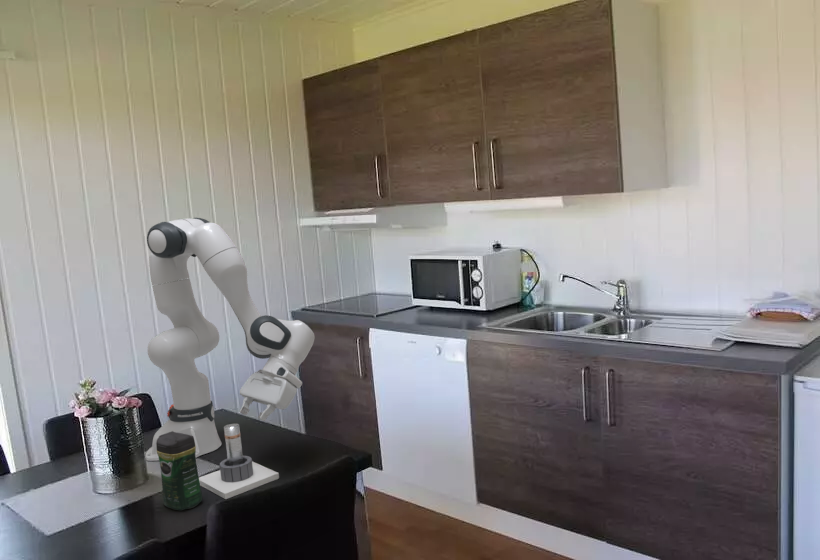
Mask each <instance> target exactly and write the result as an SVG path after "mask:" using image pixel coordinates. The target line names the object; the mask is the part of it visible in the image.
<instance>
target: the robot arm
mask: <svg viewBox="0 0 820 560" xmlns="http://www.w3.org/2000/svg"><path fill="white" fill-rule="evenodd" d="M146 243H147V247H148V250H149V251H150V254H149V258H148V259H149V261H148V262H149V263H148V264H149V265H148V266H149V276H150V281H151V286H152V292H153V296H154V299H155V304H156V308H157V311H159V313H160V314H162V315H165V316H166V317H168V319H169V320H170V322H171V323H172V325H173V328H171V329H167V330H163V331H162V332H160V333H158V334H157V335H156V336H154V337H152V338H151V339H149V340H150V341H149V342H148V345H147V355H148V358H149V361H151V363H152V364H153V365H155V366H156V367H158V368H159V369H160V370H162V371H163V372H164V374H165V375H166V378H167V379H168V382H169V385H170V390H171V391H170V392H171V394H172V395H171V396H172V397H171V398H172V402H173V404H171V405H170V407H168V408H169V409H168V410H167V412H166V414H167V415H166V416H167V418H168V419H167V421H166V422H164V424H163V425H162V426H160V428H159V429H158V430H157V431H156V432H155V433H154V435H153V439H152V446H151V447H149V449H147V451H146V453H145V460H146V461H148V462H150V461H151V462H157V461H159V457H158V454H157V447H156V442H157V439H158V438H159V436H160V435H163V434H166V433H169V432H172V431H173V432H177V433H183V434H187V435H192V436H193V437H194V441H195V445H196V451H195V456H196V459H197V458H199V457H200V456H202V455H205V454H208V453H212V452H214V451H216V450H218V449H219V448H220V447H221V446H222V444H223V443H222V441H221V438H220V436H219V434H218V430H217V427H216V423H215V409H214V408H215V407H214V405H213V400H212V399H211V392H210V385H209V384H210V383H209V379H208V377H207V375H206V374H204V373H203V372H200V371H199V370H198V368H197V366H196V363H195V359H198V358H201V357H204V356H206V355H207V354H209V353H210V352H212V351H213V350H214V349H216V347H218V345H219V342H220V332H219V329H218V328H217V326H215V325H214V323H212V322H211V321H209V320H208V319H206V317H205V316H204V314H202V312H201V310H200V309H199V305H197V302H196V298H195V296H194V291H193V287H192V283H191V279H190V274H189V270H188V266H187V263H188V260H189V259H190V257H192V258H193V257H194V258H196V257H197V259H198V260H199V262H200V264H201V266H202V267H203V269H204V271H205V273H206V274H207V275H208V276H209V279H210V280H211V281H212V282H213V284H214V285H215V286H216V287H217V289H218V290H219V291H220V292H221V294H222V295H223V297H224V298H225V299H226V301H227V303H228V304H229V305H230V307H231V309H232V311H233V312H234V314H235V316H236V318H237V319H238V322H239V324H240V325H241V328H242V329H243V331H244V336H245V345H246V349H247V350H248V353H249V354H250V355H252V356H253V357H255V358H257V359H261V360H262V359H264V360H265V359H267V361H266V362H265V365H264V366H263V368H262V369H259V370H257V371H255V372H253V373H252V374H251V375H249V377H248V378H247V380H246V381H245V382H244V383H243V385H242V386H241V388H240V389H239V395H240V396H242V397H243V400H242V406H241V408H240V410H239V414H240V413H241V414H242V415H243V416H247V415H248V413H249V412H250V409H249V408H250V405H252V403H253V402H255V403H258V404H261V405H264V406H266V408H265V409H264V410H263V411H261V412H260V413H259V415H258V417H257V418H258V419H259V420H260V421H263V422H266V420H267V419H268V418H269V416H271V414H273V413H274V412H275V411H276V409H277V410H282V411H284V410H286V409H287V408H288V407H289V406H290V404H291V403H292V401H293V400H294V398H295V396H296V395H297V392H298V389H300V388H301V386H302V385H303V381H302V380H300V379H299V378H298V377H297V376H296V375H297V373H298V370H299V368H300V365H301V364H302V363H303V362H304V361H305V360H306V358H307V356H308V354H309V353H310V352H311V349H312V347H313V345H314V342H315V337H316V336H315V332H314V331H313V329H312V328H311V327H310V326H309V325H308V324H307V323H306V322H304V321H302V320H299V319H294V320H287V319H286V320H285V319H281V318H277V317H274V316H272V315H261V314H260V312H259V310H258V308H257V306H256V304H255V303H254V301H253V299H252V297H251V295H250V292H249V286H248V270H247V266H246V264H245V261H244V259H243V256H242V254H241V253H240V251H239V250H240V249H239V248H238V247H237V246H236V244H235V242H234V241H233V240H232V239H231V237H230V236H229V235H228V234H227V232H226V231H225V229H223V227H222V226H221V225H219V224H218V223H215V222H211V221H210V220H208V219H206V218H201V217H193V218H192V217H188V218H187V217H186V218H177V219H174V220H173V219H172V220H170V221H162V222H158V223H156V224H154V225H152V226H151V227H150V228H149V230H148V232H147V235H146Z"/></svg>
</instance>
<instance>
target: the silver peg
mask: <svg viewBox="0 0 820 560" xmlns="http://www.w3.org/2000/svg"><path fill="white" fill-rule="evenodd" d="M223 431H224V439H225V448H226V457H227V458H228V466H237V465H241V464H243V456H244V455H243V447H242V438H241V437H242V436H241V431H240V424H239V423H230V424H226V425H224V426H223ZM227 458H226V459H227Z"/></svg>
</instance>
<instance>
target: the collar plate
mask: <svg viewBox="0 0 820 560" xmlns="http://www.w3.org/2000/svg"><path fill="white" fill-rule="evenodd" d="M198 477H199V482H200V487H202V488H205V489H206V490H208V491H210V492H212V493H213V494H216V495H217V496H219V497H221V498H222V499H225V500H227V499H230V498H232V497H235V496H237V495H240V494H243V493H245V492H247V491H248V492H249V491H251V490H253V489H256V488H258V487H261V486H263V485H265V484H268V483H271V482H273V481H277V480H278V479H280V474H279V472H277V471H275V470H273V469H270V468H269V467H266V466H264V465H261V464H259V463H257V462H254V461H253V459H252V457H251V456H248V455H243V464H241V465H237V466H228V458H225V459H223V460H222V461H221V462H219V470H217V471H213V472H211V473H208V474H205V475H202V476H198Z"/></svg>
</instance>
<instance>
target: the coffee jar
mask: <svg viewBox="0 0 820 560" xmlns="http://www.w3.org/2000/svg"><path fill="white" fill-rule="evenodd" d="M156 447H157V454H158V457H159V460H158V461H159V465H160V466H159V467H160V468H159V469H160V476H161V486H162V487H161V488H162V500H163V504H164V506H165V507H166V508H169V509H172V510H175V511H183V510H188V509H192V508H195V507H196V506H198V505H199V504H200V503H201V502H202V501H203V496H202V495H203V494H202V488H201V487H202V486H200V482H199V477H200V476H199V471H198V465H197V458H196V456H195V451H196V445H195V441H194V437H193V436H192V435H187V434H183V433H177V432H173V431H172V432H169V433H166V434H163V435H160V436H159V438H158V439H157V442H156Z"/></svg>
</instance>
